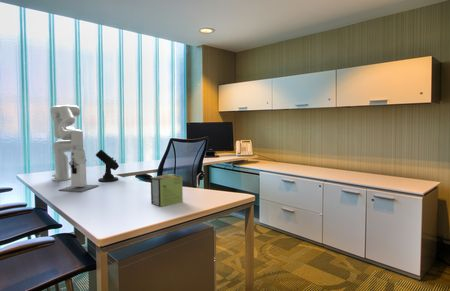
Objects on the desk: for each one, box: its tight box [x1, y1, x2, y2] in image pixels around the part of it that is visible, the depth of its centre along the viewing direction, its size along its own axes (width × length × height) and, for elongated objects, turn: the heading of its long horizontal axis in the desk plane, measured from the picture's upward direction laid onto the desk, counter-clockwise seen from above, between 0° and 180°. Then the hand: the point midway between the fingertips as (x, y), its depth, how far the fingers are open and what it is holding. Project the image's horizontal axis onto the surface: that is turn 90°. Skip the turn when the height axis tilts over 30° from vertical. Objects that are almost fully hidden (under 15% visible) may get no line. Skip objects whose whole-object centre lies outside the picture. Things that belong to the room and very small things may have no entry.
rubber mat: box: [58, 184, 100, 193], centre depth 210 cm, size 18×18×1 cm
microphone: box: [95, 149, 120, 183], centre depth 237 cm, size 15×17×25 cm
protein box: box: [150, 173, 184, 208], centre depth 173 cm, size 10×15×16 cm
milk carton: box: [70, 163, 88, 187], centre depth 209 cm, size 7×7×19 cm
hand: (78, 172), depth 209 cm, fingers closed on milk carton, 7 cm apart
